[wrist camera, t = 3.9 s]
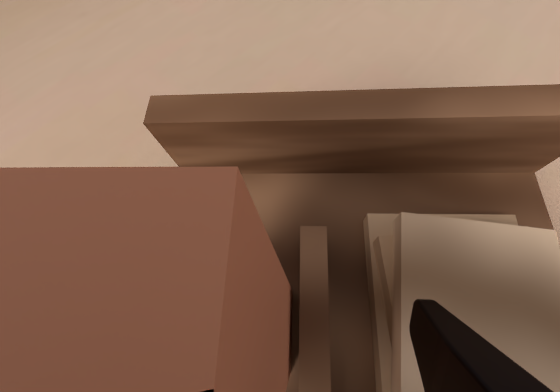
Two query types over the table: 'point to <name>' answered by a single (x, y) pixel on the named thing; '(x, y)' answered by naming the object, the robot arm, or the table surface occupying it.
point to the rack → (392, 216)
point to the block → (139, 283)
